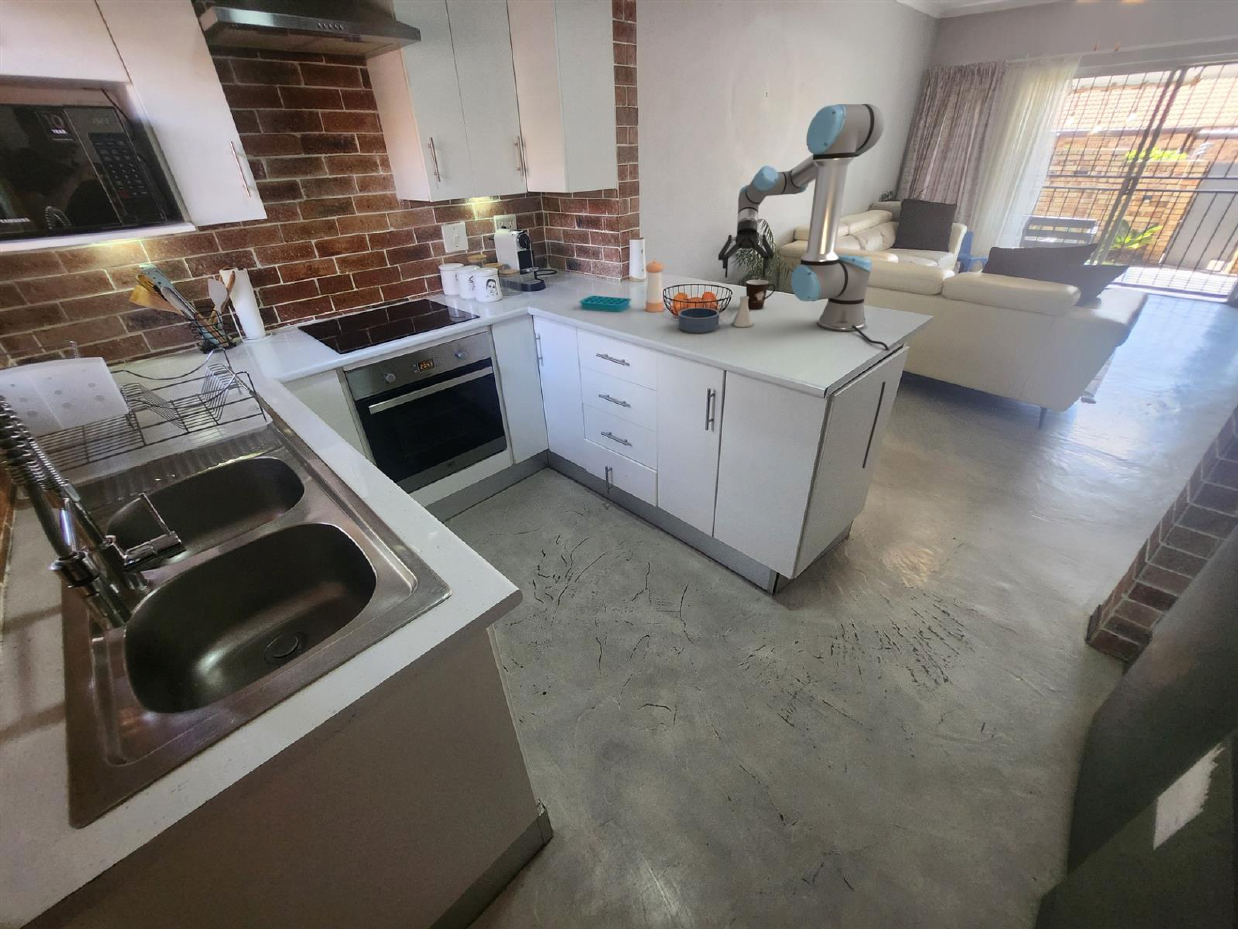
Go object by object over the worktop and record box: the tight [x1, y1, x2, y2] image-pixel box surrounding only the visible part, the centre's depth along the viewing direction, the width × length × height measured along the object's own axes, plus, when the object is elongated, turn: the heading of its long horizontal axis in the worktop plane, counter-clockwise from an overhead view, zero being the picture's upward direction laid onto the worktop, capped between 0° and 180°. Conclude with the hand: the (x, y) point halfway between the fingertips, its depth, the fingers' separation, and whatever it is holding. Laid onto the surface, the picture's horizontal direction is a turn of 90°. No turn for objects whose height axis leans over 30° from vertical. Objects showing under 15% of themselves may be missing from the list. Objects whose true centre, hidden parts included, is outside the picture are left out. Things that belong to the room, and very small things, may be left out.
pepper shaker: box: [645, 260, 665, 313], centre depth 204 cm, size 7×7×19 cm
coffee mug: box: [745, 279, 776, 311], centre depth 202 cm, size 12×9×10 cm
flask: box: [732, 295, 753, 328], centre depth 183 cm, size 7×7×10 cm
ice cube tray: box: [578, 295, 632, 313], centre depth 215 cm, size 12×20×3 cm, turn 62°
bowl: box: [677, 307, 721, 334], centre depth 183 cm, size 15×15×6 cm
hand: (744, 275), depth 186 cm, fingers open, 13 cm apart
